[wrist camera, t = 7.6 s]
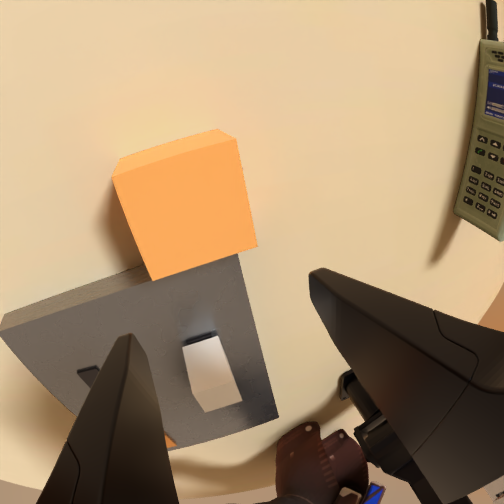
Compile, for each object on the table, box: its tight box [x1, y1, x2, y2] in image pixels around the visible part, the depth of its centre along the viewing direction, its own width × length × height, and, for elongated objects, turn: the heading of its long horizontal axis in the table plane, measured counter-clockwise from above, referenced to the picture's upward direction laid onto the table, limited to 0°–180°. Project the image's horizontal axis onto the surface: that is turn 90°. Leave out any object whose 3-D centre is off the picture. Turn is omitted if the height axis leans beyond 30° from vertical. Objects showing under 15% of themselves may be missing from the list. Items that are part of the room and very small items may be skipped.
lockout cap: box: [111, 129, 258, 281], centre depth 15 cm, size 6×6×4 cm
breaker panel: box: [0, 253, 279, 451], centre depth 23 cm, size 22×18×2 cm
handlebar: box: [256, 422, 386, 504], centre depth 32 cm, size 45×13×20 cm, turn 40°
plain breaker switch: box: [182, 336, 242, 413], centre depth 19 cm, size 3×3×4 cm
